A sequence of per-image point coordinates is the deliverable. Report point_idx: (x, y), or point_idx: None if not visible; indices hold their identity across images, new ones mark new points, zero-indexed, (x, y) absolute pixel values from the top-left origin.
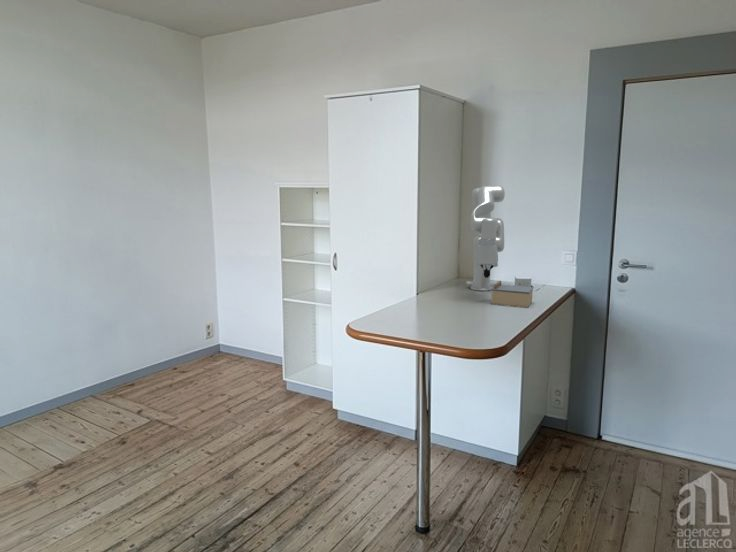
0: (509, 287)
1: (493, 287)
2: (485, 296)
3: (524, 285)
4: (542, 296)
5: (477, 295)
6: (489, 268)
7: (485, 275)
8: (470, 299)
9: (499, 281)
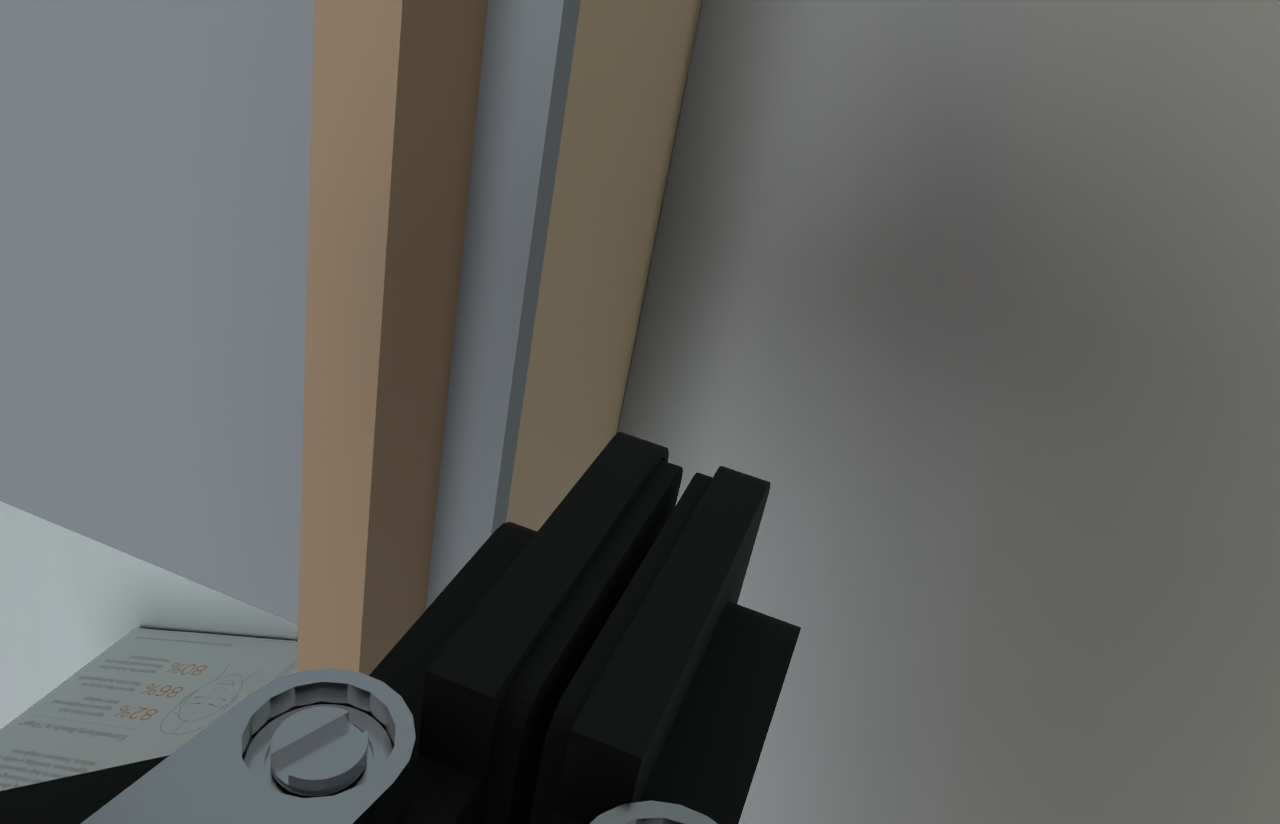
0: (125, 268)
1: (530, 178)
2: (833, 684)
3: (55, 766)
4: (28, 680)
5: (1002, 771)
6: (241, 764)
7: (703, 518)
8: (1257, 362)
9: (327, 580)
